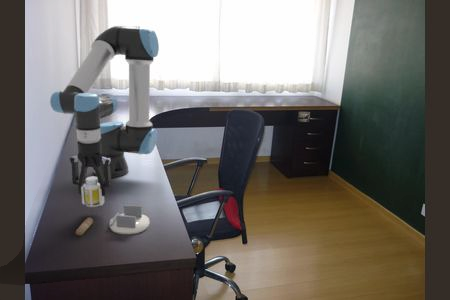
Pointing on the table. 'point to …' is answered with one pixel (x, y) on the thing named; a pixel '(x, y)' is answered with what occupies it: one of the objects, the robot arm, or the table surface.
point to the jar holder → (129, 221)
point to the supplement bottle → (92, 191)
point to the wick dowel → (84, 226)
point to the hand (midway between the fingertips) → (93, 203)
